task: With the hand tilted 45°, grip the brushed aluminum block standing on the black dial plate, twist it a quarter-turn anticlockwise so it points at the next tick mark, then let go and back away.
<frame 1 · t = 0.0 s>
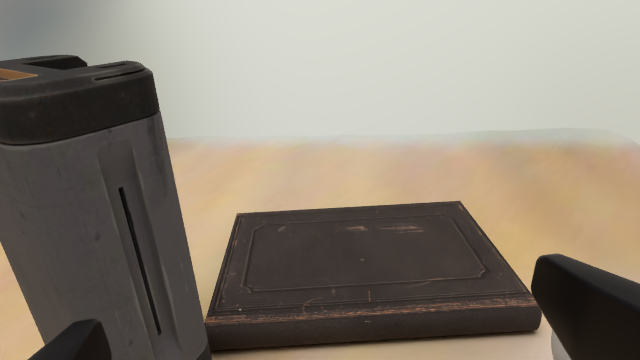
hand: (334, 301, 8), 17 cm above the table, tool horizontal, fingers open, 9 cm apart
hardcover book: (359, 275, 36), on the table
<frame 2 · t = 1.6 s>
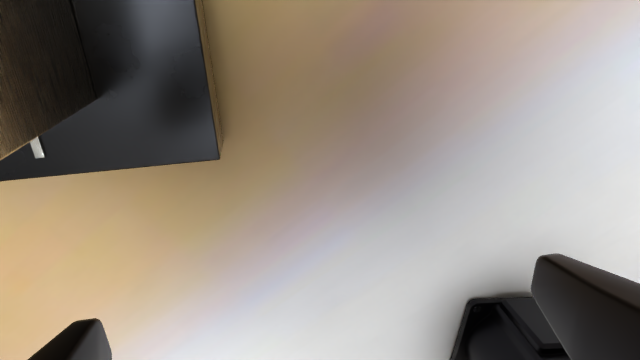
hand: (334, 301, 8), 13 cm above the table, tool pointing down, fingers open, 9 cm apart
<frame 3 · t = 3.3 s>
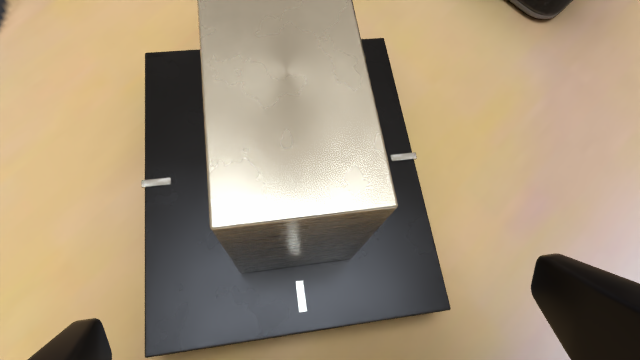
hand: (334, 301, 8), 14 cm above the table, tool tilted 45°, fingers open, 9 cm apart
dial plate: (284, 186, 23), on the table
brushed aluminum block: (285, 129, 17), point 7 cm above the table, hinge at 0.0°
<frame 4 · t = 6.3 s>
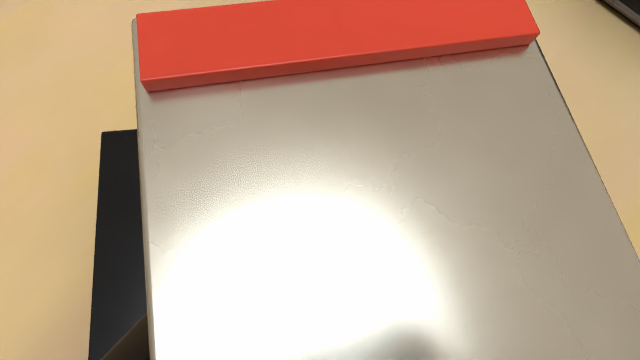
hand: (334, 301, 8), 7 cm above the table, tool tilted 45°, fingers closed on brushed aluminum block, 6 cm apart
dial plate: (329, 350, 14), on the table
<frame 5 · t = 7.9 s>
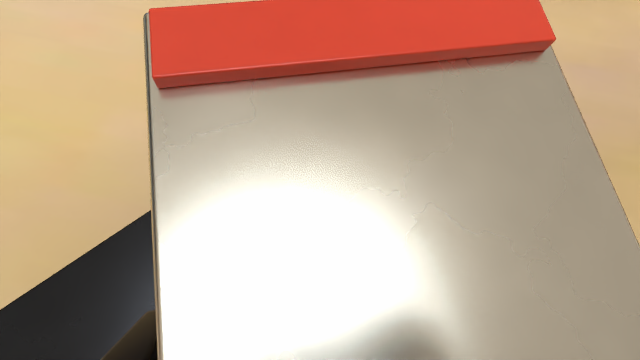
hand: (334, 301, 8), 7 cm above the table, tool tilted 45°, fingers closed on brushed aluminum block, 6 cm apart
dial plate: (327, 350, 14), on the table
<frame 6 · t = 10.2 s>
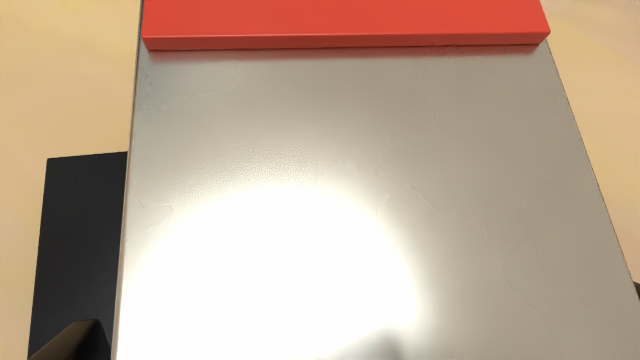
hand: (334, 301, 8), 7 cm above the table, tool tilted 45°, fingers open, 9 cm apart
dial plate: (314, 349, 14), on the table
brushed aluminum block: (342, 357, 8), point 7 cm above the table, hinge at 87.1°
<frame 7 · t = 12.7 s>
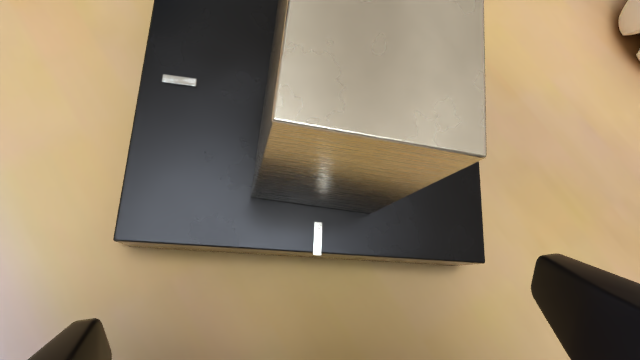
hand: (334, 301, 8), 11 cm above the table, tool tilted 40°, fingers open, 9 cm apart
dial plate: (312, 121, 21), on the table
brushed aluminum block: (350, 49, 15), point 7 cm above the table, hinge at 87.1°
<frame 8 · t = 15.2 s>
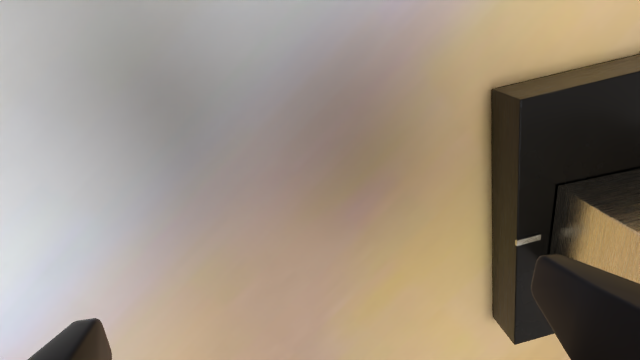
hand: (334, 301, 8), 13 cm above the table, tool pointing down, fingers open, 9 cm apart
dial plate: (599, 191, 25), on the table
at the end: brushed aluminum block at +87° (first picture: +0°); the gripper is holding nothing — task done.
